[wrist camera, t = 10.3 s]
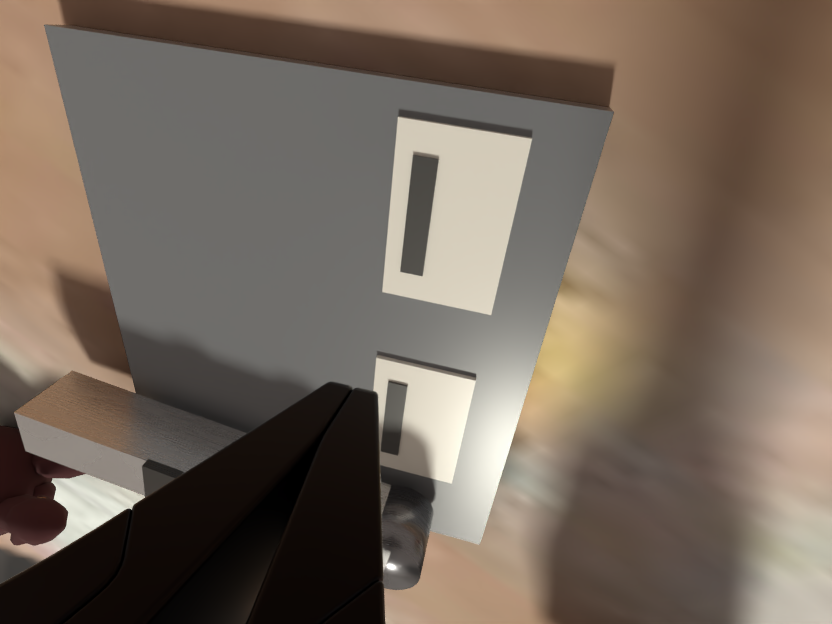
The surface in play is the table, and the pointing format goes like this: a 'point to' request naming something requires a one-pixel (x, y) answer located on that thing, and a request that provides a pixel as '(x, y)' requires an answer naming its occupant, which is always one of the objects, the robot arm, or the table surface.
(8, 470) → the icecream
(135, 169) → the equipment panel
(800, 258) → the table surface
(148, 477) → the cable arm
